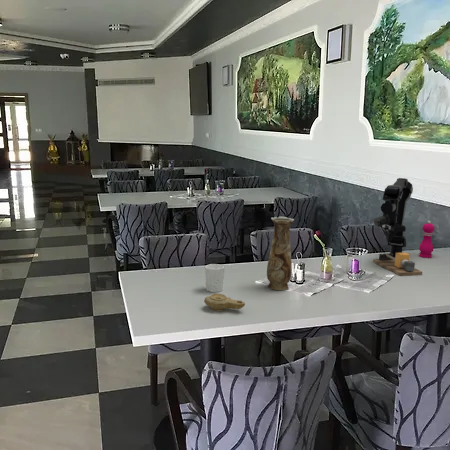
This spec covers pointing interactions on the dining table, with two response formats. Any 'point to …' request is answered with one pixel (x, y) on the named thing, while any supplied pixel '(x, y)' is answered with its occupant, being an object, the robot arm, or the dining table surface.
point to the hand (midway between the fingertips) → (388, 242)
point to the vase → (280, 255)
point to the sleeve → (401, 258)
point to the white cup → (214, 277)
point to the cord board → (389, 264)
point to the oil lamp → (223, 302)
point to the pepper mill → (427, 241)
